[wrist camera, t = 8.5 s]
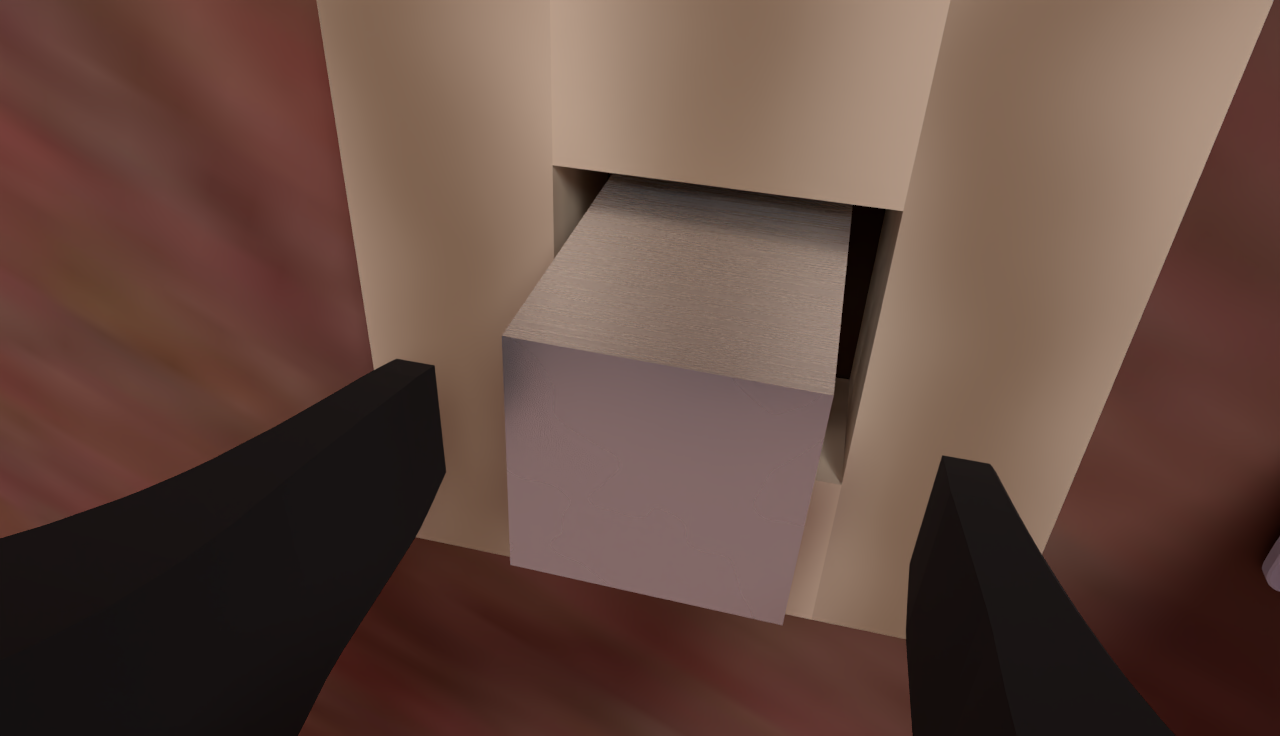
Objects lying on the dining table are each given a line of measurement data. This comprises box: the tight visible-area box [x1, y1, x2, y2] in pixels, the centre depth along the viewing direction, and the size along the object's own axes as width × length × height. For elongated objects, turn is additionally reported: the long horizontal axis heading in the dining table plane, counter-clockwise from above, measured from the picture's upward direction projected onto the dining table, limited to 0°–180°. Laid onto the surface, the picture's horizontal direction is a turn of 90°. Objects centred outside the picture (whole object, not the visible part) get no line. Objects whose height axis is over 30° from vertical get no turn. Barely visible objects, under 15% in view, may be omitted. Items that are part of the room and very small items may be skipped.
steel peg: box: [502, 173, 853, 625], centre depth 15 cm, size 4×4×8 cm
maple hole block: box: [317, 0, 1274, 639], centre depth 17 cm, size 13×13×4 cm
